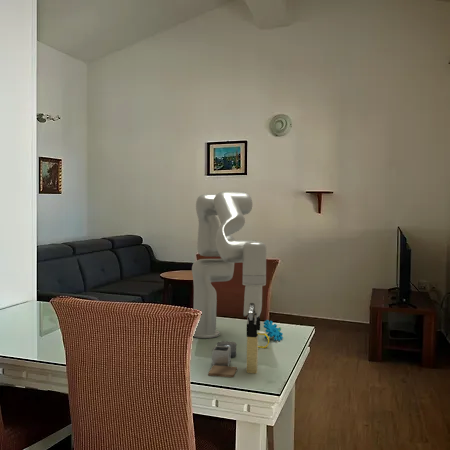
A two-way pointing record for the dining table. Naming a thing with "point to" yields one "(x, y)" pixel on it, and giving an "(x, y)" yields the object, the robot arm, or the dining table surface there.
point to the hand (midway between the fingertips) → (253, 333)
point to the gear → (273, 330)
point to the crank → (223, 353)
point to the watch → (266, 336)
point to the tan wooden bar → (252, 354)
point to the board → (222, 371)
